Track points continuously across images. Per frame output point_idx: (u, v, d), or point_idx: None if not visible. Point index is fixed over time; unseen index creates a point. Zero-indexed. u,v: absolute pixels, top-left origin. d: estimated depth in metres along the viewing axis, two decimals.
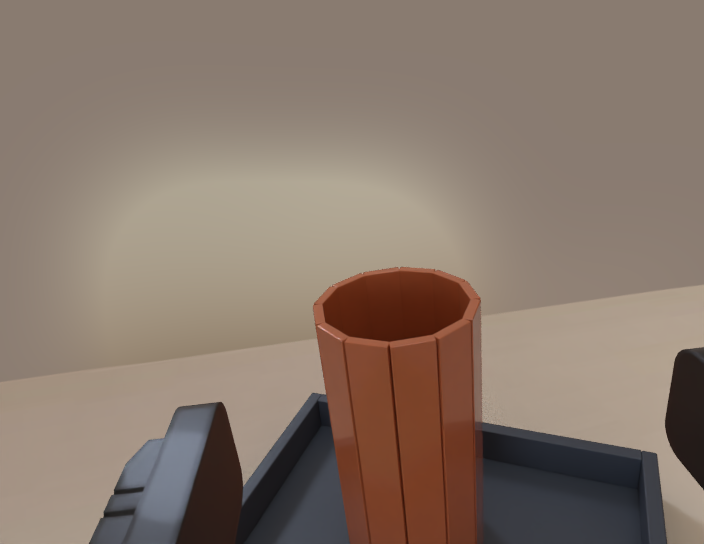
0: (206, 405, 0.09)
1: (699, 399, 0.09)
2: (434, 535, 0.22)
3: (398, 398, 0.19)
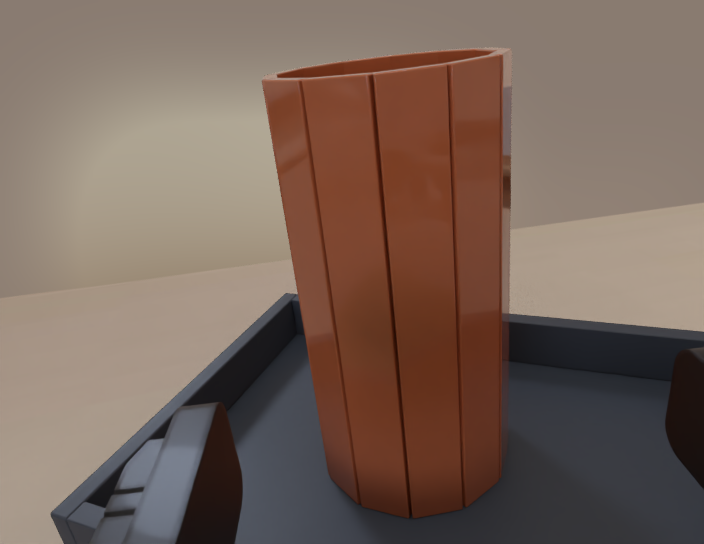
0: (206, 405, 0.09)
1: (699, 399, 0.09)
2: (442, 417, 0.15)
3: (387, 173, 0.12)
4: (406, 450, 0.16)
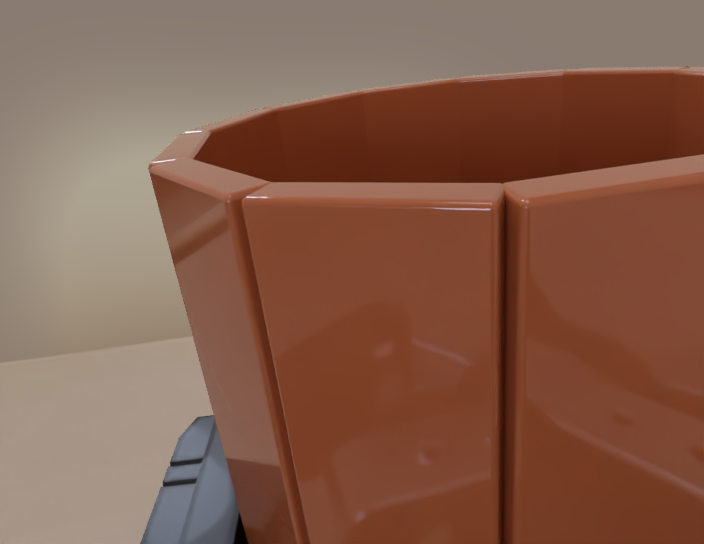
0: None
1: None
2: None
3: (533, 507, 0.04)
4: None
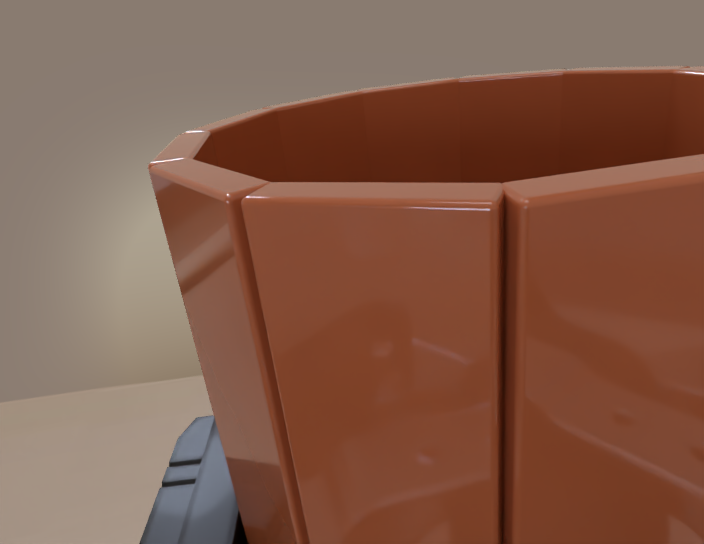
0: None
1: None
2: None
3: (533, 507, 0.04)
4: None
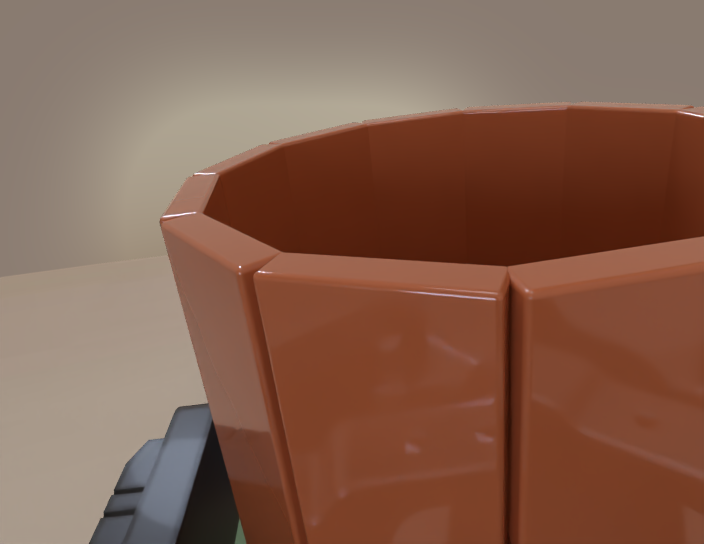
0: (206, 405, 0.09)
1: None
2: None
3: None
4: None
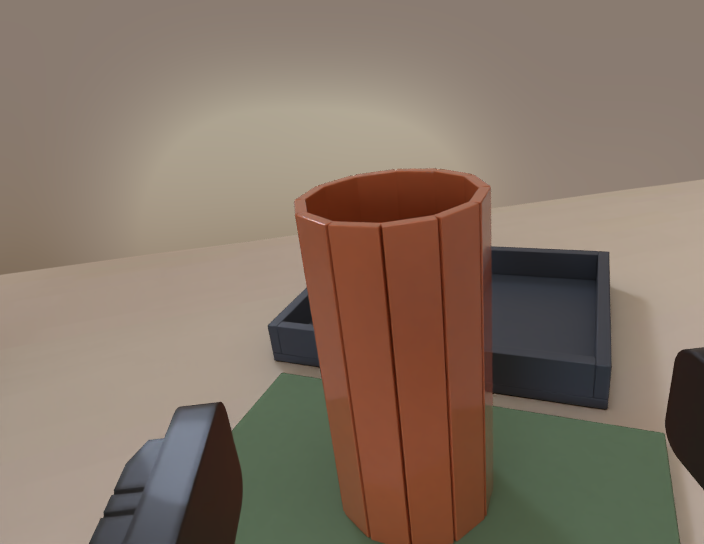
0: (206, 405, 0.09)
1: (699, 399, 0.09)
2: (436, 471, 0.19)
3: (392, 294, 0.16)
4: (407, 497, 0.19)
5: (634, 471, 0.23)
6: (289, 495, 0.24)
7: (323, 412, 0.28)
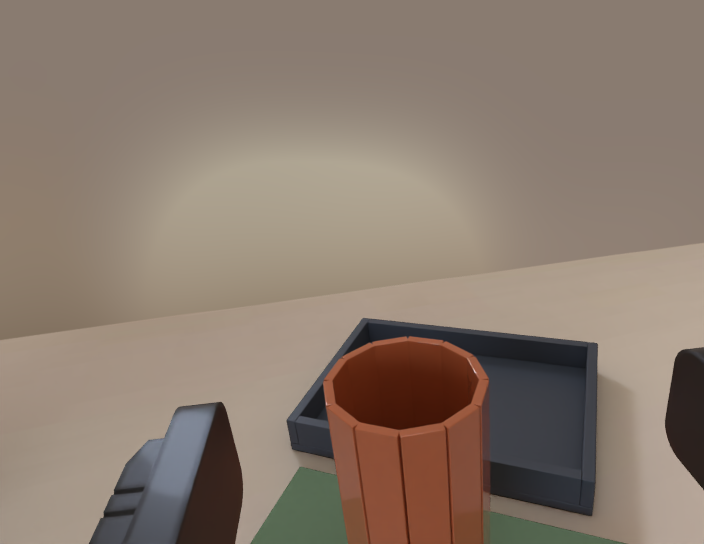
0: (206, 405, 0.09)
1: (699, 399, 0.09)
2: None
3: (408, 483, 0.19)
4: None
5: None
6: None
7: (339, 513, 0.32)
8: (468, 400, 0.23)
